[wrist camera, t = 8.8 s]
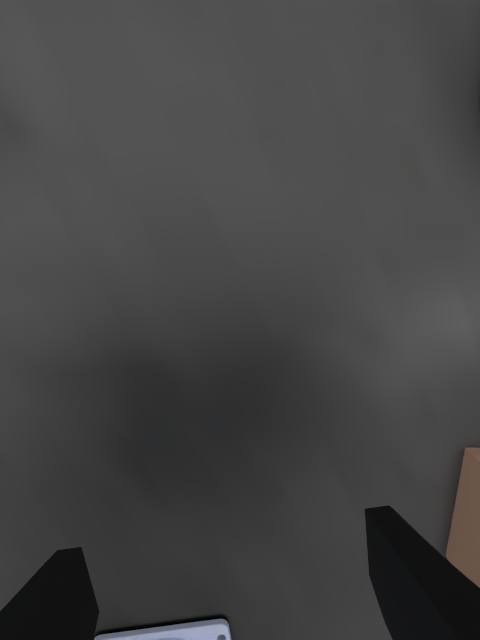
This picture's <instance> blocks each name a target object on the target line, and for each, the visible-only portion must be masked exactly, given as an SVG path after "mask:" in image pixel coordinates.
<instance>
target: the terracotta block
mask: <svg viewBox="0 0 480 640" xmlns="http://www.w3.org/2000/svg"><path fill="white" fill-rule="evenodd" d="M446 557H447V559H448V560H449V562H450V563H451V564H453V565H454V566H455V567H456V568H457V569H458V570H459V571H461V572H462V573H463V574H464V575H465V576H466V577H467V578H469V579H470V580H471V581H472V582H473V583H475V584H476V585H477V586H478V587H479V588H480V448H465V452H464V457H463V463H462V468H461V474H460V479H459V485H458V490H457V496H456V501H455V507H454V512H453V518H452V523H451V529H450V534H449V540H448V545H447V551H446Z"/></svg>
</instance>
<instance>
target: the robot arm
mask: <svg viewBox="0 0 480 640" xmlns="http://www.w3.org/2000/svg"><path fill="white" fill-rule="evenodd" d="M365 519H366V534H367V548H368V563H369V576H370V579H371V582H372V585H373V588H374V591H375V594H376V597H377V600H378V603H379V606H380V609H381V612H382V615H383V618H384V621H385V623H386V625H387V628H388V630H389V632H390V635H391V637H392V639H393V640H480V588H479V587H478V586H477V585H476V584H475V583H473V582H472V581H471V580H470V579H469V578H467V577H466V576H465V575H464V574H463V573H462V572H461V571H459V570H458V569H457V568H456V567H455V566H454V565H453V564H451V563H450V562H449V561H448V560H447V559H446V558H445V557H443V556H442V555H441V554H440V553H439V552H438V551H437V550H436V549H435V548H434V547H433V546H431V545H430V544H429V543H428V542H427V541H426V540H425V539H424V538H423V537H422V536H421V535H420V534H419V533H418V532H417V531H416V530H414V529H413V528H412V527H411V526H410V525H409V524H408V523H407V522H406V521H405V520H404V519H403V518H402V517H401V516H400V515H399V514H398V513H397V512H396V511H395V510H394V509H393V508H391V507H390V506H382V507H375V508H367V509H365ZM98 614H99V609H98V606H97V602H96V598H95V595H94V591H93V587H92V584H91V580H90V576H89V573H88V569H87V566H86V562H85V558H84V555H83V551H82V547H78V548H71V549H64V550H57V551H56V552H55V553H54V554H53V556H52V557H51V558H50V559H49V560H48V561H47V562H46V563H45V564H44V565H43V566H42V567H41V568H40V569H39V570H38V571H37V572H36V574H35V575H34V576H33V577H32V578H31V579H30V580H29V581H28V582H27V583H26V584H25V586H24V587H23V588H22V589H21V590H20V591H19V592H18V593H17V594H16V595H15V596H14V597H13V599H12V600H11V601H10V602H9V603H8V604H7V605H6V606H5V607H4V608H3V609H2V610H1V611H0V640H93V638H94V633H95V629H96V624H97V619H98ZM94 640H232V639H231V634H230V628H229V624H228V622H227V621H226V620H224V619H213V620H206V621H198V622H191V623H183V624H176V625H169V626H161V627H154V628H146V629H139V630H131V631H124V632H117V633H109V634H102V635H98V636H96V637H95V639H94Z"/></svg>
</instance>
